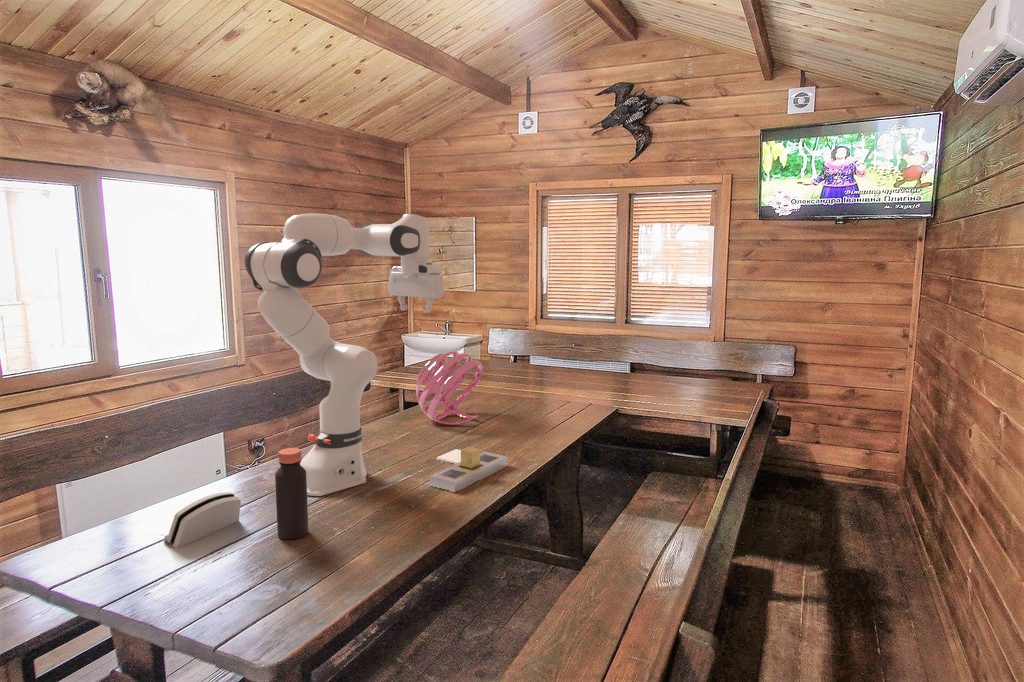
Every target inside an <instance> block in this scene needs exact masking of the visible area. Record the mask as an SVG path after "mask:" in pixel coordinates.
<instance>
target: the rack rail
mask: <svg viewBox="0 0 1024 682" xmlns="http://www.w3.org/2000/svg"><path fill="white" fill-rule="evenodd" d="M508 464H509V457H508V456H507V455H506V456H505V455H501V454H496V453H493V452H488V451H482V452H481V451H480V467H479V468H477V469H475V470H473V471H472V470H468V469H464V468H461V462H459V463H457V464H452V465H451V466H448V467H446V468H444V469H441V470H439V471H437V472H435V473H433V474H430V475H429V487H431V486H433V487H432V488H435V487H437V488H436V489H439V488H442V489H446V490H449V491H453V492H456V491H458V490H460V489H462V488H464V487H466V486H468V485H470V484H472V483H474V482H476V481H478V480H480V481H482V480H484V479H485V478H484V477H486V476H488V477H490V476H492V475H493V473H494V474H495V472H496V473H497V471H498V470H499V471H501V470H503V469H505V468H507V467H508V466H509V465H508ZM506 466H507V467H506ZM504 467H505V468H504ZM502 468H503V469H502ZM500 469H501V470H500ZM499 471H498V472H499ZM491 474H492V475H491ZM489 475H490V476H489ZM483 478H484V479H483ZM486 478H487V477H486ZM481 479H482V480H481ZM478 482H479V481H478ZM476 483H477V482H476ZM474 484H475V483H474ZM472 485H473V484H472ZM470 486H471V485H470ZM468 487H469V486H468ZM466 488H467V487H466ZM442 489H441V490H442ZM464 489H465V488H464ZM446 490H445V491H446ZM462 490H463V489H462ZM449 491H448V492H449ZM460 491H461V490H460ZM453 492H452V493H453ZM458 492H459V491H458ZM456 493H457V492H456Z"/></svg>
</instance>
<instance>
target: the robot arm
mask: <svg viewBox="0 0 1024 682" xmlns="http://www.w3.org/2000/svg"><path fill="white" fill-rule="evenodd" d="M282 234H283V239H282V240H281V241H280V242H279V241H278V242H277V241H276V242H275V241H272V242H268V241H267V242H266V241H263V242H260V243H257V244H254V245H253V246H251V247H250V248H249V249H248V250H247V252H246V253H245V256H244V266H245V267H244V268H245V270H246V272H247V275H248V276H249V277H250V278H251V280H252V284H253V286H254V287H255V289H257V290H259V291H262V293H261V294H260V296H259V298H258V300H257V309H258V311H259V313H260V314H261V316H262V317H263V319H264V320H265V321H266V323H267V324H268V325H269V327H271V328H272V329H273V331H274V332H275V333H277V335H278V336H280V337H281V338H282V340H284V341H285V342H286V344H288V345H289V346H290V347H291V348H292V349H293V350H294V351H295V352H296V353H297V354H298V356H299V365H300V367H301V369H302V370H303V372H304V373H306V374H308V375H309V376H311V377H314V378H315V379H318V380H323V381H327V382H328V381H329V382H330V388H329V392H328V395H326V397H324V398H323V399H322V400H321V401H320V403H319V406H318V407H319V408H318V409H319V430H318V432H317V434H313V433H310V434H308V436H307V440H308V442H309V441H310V442H312V443H315V445H314V446H313V447H312V448H311V449H310V450H309V452H307V454H306V455H305V456H303V458H301V462H300V465H301V466H302V467H303V468H304V469H305V470H306V480H307V496H311V497H312V496H313V497H323V496H325V495H329V494H332V493H335V492H338V491H342V490H346V489H348V488H352V487H356V486H359V485H363V484H365V483H367V470H366V467H365V462H364V458H363V452H362V441H363V437H362V436H363V434H362V427H361V423H360V422H361V416H360V415H361V414H360V413H361V400H362V396H363V393H364V390H365V388H366V386H367V385H368V384H369V383H371V382H372V380H374V378H375V376H376V375H377V372H378V370H379V369H378V367H379V365H378V363H379V362H378V359H377V355H376V354H375V353H374V352H373V351H371V350H369V349H367V348H365V347H363V346H361V345H355V344H348V343H342V342H339V341H336V340H334V339H333V338H332V337H331V336H330V333H331V328H330V325H329V323H328V322H327V321H326V320H325V319H324V317H323V316H322V315H320V314H319V313H318V311H317V310H316V309H315V308H314V307H313V306H312V305H311V304H310V303H309V302H308V301H307V300H306V299H304V298H303V295H302V294H301V293H300V290H299V289H302V288H307V287H310V286H312V285H314V284H316V283H317V281H318V280H319V278H320V276H321V273H322V269H323V268H322V265H323V264H322V263H323V262H322V256H323V257H324V256H325V257H330V256H331V257H332V256H333V257H334V256H340V255H341V256H342V255H345V254H347V253H348V252H349V251H350V250H356V251H359V252H361V253H362V254H363V255H365V256H368V257H400V266H397V265H396V266H393V267H392V268H390V270H389V278H388V285H387V286H388V287H387V291H388V294H389V295H390V296H397V300H398V303H399V305H400V311H407V310H408V309H409V307H408V306H409V305H408V304H407V303H406V301H405V300H406V297H411V298H412V297H413V298H425V301H426V303H425V306H423V308H422V309H423V310H422V311H423V313H430V312H431V307H432V305H433V303H434V299H441V298H442V297H443V296H444V294H445V289H444V288H445V286H444V278H443V275H442V273H443V267H442V266H441V265H439V264H437V263H434V262H432V261H430V254H429V247H430V228H429V222H428V219H427V218H426V217H425V216H424V215H423V214H422V215H421V214H418V213H405V214H403V215H402V217H401V218H400V219H399V220H397V221H395V222H393V223H373V222H372V223H365V224H363V225H362V226H360V227H352V224H351V223H350V221H349V220H348V219H346V218H344V217H341V216H338V215H334V214H327V213H316V212H315V213H314V212H313V213H301V214H294V215H292V216H290V217H289V218H288V219H287V220H286V221H285V224H284V226H283V233H282Z"/></svg>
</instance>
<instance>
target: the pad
mask: <svg viewBox="0 0 1024 682" xmlns="http://www.w3.org/2000/svg"><path fill="white" fill-rule="evenodd" d="M461 450H462V449H457V448H455V449H453V450H451V451H448V452H445V453H443V454H441V455H438V456H437V457H435V459H436V461H439V460H441V461H440V462H443V461H445V462H444V463H447V462H450V463H449V464H451V463H454V464H453V465H455V464H457V463H459V462H461Z"/></svg>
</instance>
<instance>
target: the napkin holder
mask: <svg viewBox="0 0 1024 682" xmlns="http://www.w3.org/2000/svg"><path fill="white" fill-rule="evenodd" d="M241 503H242V501H241V499H240V498H239V496H235V493H232V492H230V491H226V492H225V491H224V492H223V491H222V492H217V493H214V494H209V495H207V496H204V497H202V498H200V499H197V500H195V501H194V502H191V503H190V504H188V505H186V506H184V507H183V508H181V509H180V510H178V511H177V512H176V513H175V515H174V517H173V520H172V522H171V525H170V529H169V532H168V534H166V535H164V538H163V544H166V543H168V544H170V543H173V545H172V547H174V548H175V549H178V548H181V547H183V546H185V545H188V544H190V543H191V542H194V541H196V540H198V539H202V538H203V537H206V536H208V535H210V534H213V533H215V532H218V531H219V530H221V529H224V528H226V527H228V526H231V525H233V524H235V523H237V522H239V521H240V513H241V512H240V511H241V505H242V504H241Z"/></svg>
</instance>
